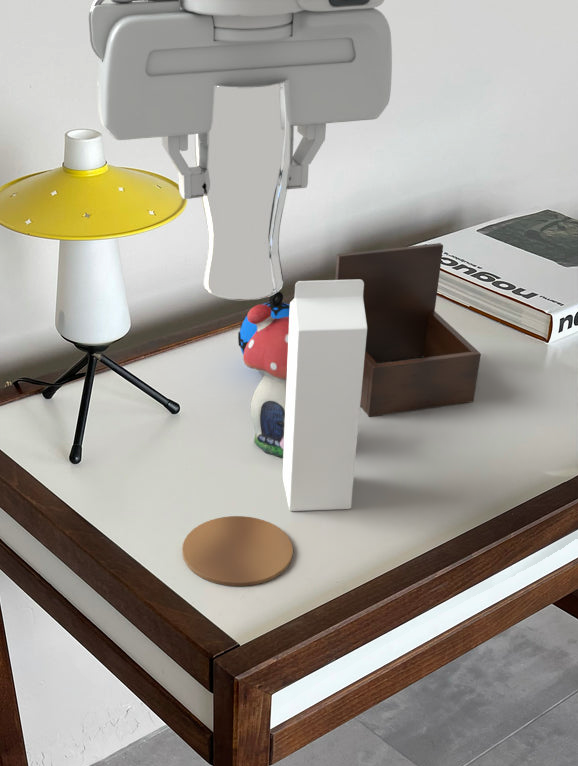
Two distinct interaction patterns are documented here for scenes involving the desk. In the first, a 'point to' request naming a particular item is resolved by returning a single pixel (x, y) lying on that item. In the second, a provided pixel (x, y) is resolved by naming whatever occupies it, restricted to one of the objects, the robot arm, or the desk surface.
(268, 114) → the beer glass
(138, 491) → the desk surface
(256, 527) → the coaster
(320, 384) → the milk
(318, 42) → the robot arm
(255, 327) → the ornament
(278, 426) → the decorative ornament
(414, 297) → the cubby
